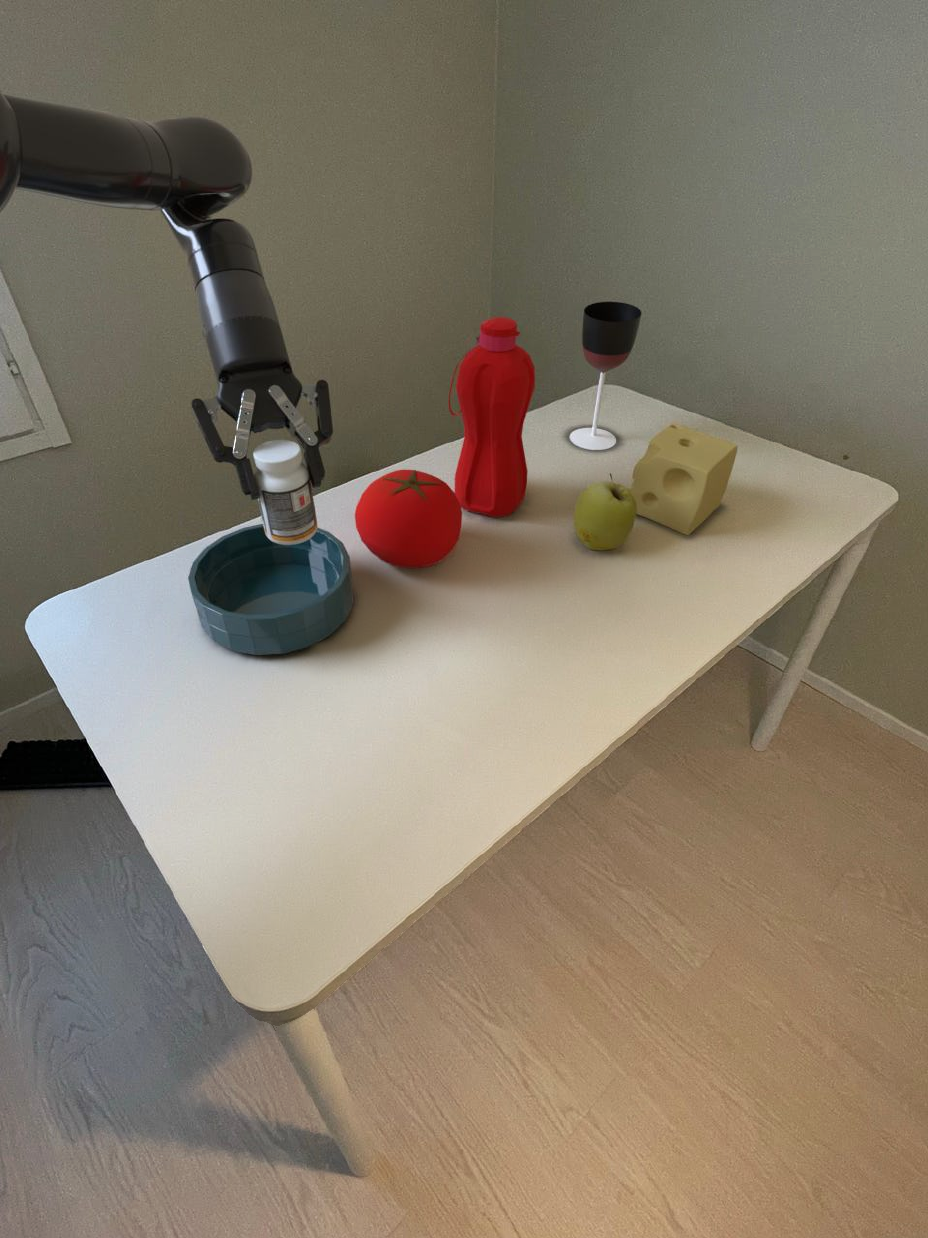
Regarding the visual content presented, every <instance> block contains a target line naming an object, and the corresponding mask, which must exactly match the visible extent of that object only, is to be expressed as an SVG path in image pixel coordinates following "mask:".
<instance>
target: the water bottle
mask: <svg viewBox="0 0 928 1238" xmlns="http://www.w3.org/2000/svg"><path fill="white" fill-rule="evenodd" d="M479 331H480V332H479V335H477V336H476V341H475V343H476V344H475V345H474V346H472V347H470V348H469V349H468V350H467V351H466V352H465V354H464V355H463V357H462V358H461V359H460V360H459V361H458V363H457V364H456V366H455V368H454V371H453V375H452V379H451V383H450V386H449V387H450V388H449V392H448V410H449V413H450V414H451V416H453V417H457V416H459V415H460V414H461V417H462V422H463V442H462V446H461V450H460V454H459V458H458V462H457V466H456V469H455V473H454V493H455V495H456V497H457V499H458V501H459V503H460V506H461V509H463V510H465V511H468V512H471V513H476V514H477V513H478V514H482V515H485V516H487V517H489V516H490V517H493V518H500V517H504V516H505V517H506V516H509V515H511V514H512V513H514V512H515V511H516V510H518V509H519V507H520V504H521V503H522V501H523V500H524V497H525V495H526V491H527V484H528V465H527V460H526V453H525V447H524V441H523V429H524V422H525V420H526V416H527V413H528V410H529V407H530V404H531V400H532V398H533V395H534V391H535V388H536V387H535V386H536V370H535V369H536V368H535V364H534V363H533V360H532V357H531V356H530V354H529V353H528V352H527V351H526V350H525V349H524V348H522V347H521V346H519V345H518V344H516V343H517V342H516V341H517V337H519V336H520V334H521V331H518V323H517V322H516V320H515V319H512V318H509V317H504V316H497V317H496V316H495V317H492V318H489V319H486V320H484V321H483V322H482V323H480V329H479ZM459 364H460V365H459ZM458 367H459V369H458ZM457 369H458V374H457V379H456V384H455V390H456V395H457V399H458V403H459V407H460V409H459V412H458V413H457V414H456V413H454V412H453V410H452V408H451V393H452V389H453V383H454V380H455V375H456V372H457Z"/></svg>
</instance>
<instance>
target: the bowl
mask: <svg viewBox="0 0 928 1238" xmlns="http://www.w3.org/2000/svg"><path fill="white" fill-rule="evenodd" d="M350 557H351V556H350V553H349V552H348V550H347V548H346V547H345V544H344V543H343V542H342V541H341V540H340V539H338V538H337V537H336V536H335V535H334V534H333V533H331V532H330V531H328V530H325V529H323V528H320V527H318V526H317V531H316V533H315V534H314V535H313V536H312V537H311V538H310V539H309V540H307V541H305V542H303V543H300V544H295V545H281V544H277V543H275V542H273V541H271V540H270V539H269V538H268V537H267V536H266V534H265V530H264V526H263V523H260V524H255V525H249V526H245V527H242V528H239V529H236V530H235V531H232V532H230V533H227V534H224V535H222V536H221V537H220V538H217V540H215V541H213V542H212V543H211V544H209V545H207V546H206V547H204V548H203V550H202V551H201V552H200V553H199V554H198V556H197V557H196V558H195V559H194V560H193V561H192V564H191V567H190V570H189V574H188V578H187V580H188V585H189V589H190V593H191V597H192V599H193V602H194V606H195V609H196V612H197V616H198V619H199V621H200V625H201V628H202V629H203V631H204V632H205V633H206V634H207V635H208V637H210V638H211V640H212V641H213V642H214V643H217V644H218V645H220V646H223V647H225V648H227V649H229V650H230V651H233V652H237V653H243V654H247V655H254V656H263V655H282V654H287V653H291V652H296V651H298V650H302V649H305V648H309V647H311V646H313V645H315V644H317V643H318V642H320V641H323V640H324V639H326V638H328V637H329V636H330V635H332V634H333V633H334V632H336V630H337V629H338V628H339V627H341V625H342V624H343V623H345V622H346V620H347V618H348V616H349V614H350V613H351V610H352V609H353V606H354V583H353V576H352V566H351V558H350Z"/></svg>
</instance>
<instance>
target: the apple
mask: <svg viewBox="0 0 928 1238" xmlns="http://www.w3.org/2000/svg"><path fill="white" fill-rule="evenodd" d="M609 476H610V479H611V481H598V482H595V483H591V484H590V485H588V486H587V487H586V488H585V489H584V490H583V491H582V492H581V494H579V497H578V499H577V501H576V503H575V506H574V511H573V512H574V513H573V527H574V531H575V534H576V536H577V538H578V539H579V541H580V542H581V543H582V544H583V545H584V547H586V548H587V549H589V550H592V551H607V550H615V549H617V548H619V547H620V546H621V545H622V544H623V543H624V542H625V541H626V540H627V538H628V537H629V535H630V533H631V532H632V530H633V527H634V524H635V520H636V516H637V514H636V503H635V500H634V497H633V495H632V493H631V492H630V491H629V490H628V489H629V488H627V487H626V486H625V485H622V484H620V483H616V482H613V477H612V476H613V475H612V473H609Z"/></svg>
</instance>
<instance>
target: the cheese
mask: <svg viewBox="0 0 928 1238" xmlns="http://www.w3.org/2000/svg"><path fill="white" fill-rule="evenodd" d="M738 447H739V445H738V444H737V443H735V442H732V441H730V440H726V439H723V438H720V437H717V436H713V435H710V434H707V433H704V432H700V431H697V430H695V429H692V428H690V427H687V426H685V425H681V424H678V423H676V422H672V423H670V424H669V425H668V426H666V427H665V428H663V429H662V430H661V431H659V432H658V433H657V434H656V435H654V436H653V437H652V438H651V439H650V440H649V441H648V445H647V449H646V451H645V454H644V455H643V456H642V457H641V458H640V459H639V460H638V461H637V462H636V463H635V464H634V468H633V471H632V477H631V478H632V479H633V483H632V484H631V486H630V487H629V488H627V489H628V490H629V491H630V492H631V493H632V495H633V497H634V500H635V503H636V515H638V516H641V517H644V518H646V519H648V520H651V521H654V522H656V523H658V524H661V525H663V526H665V527H667V528H670V529H672V530H673V531H676V532H678V533H681V534H683V535H686V536H689V535H690V534H692V532H693V531H695V530H696V529H697V528H698V527H699V526H700V525H701V524H703V522H704V521H705V520H706V519H707V518H708V517H709V516H710V515H711V514H712V513H713V512H714V511H715V510H716V509H717V508H719V507H720V505H721V503H722V500H723V498H724V495H725V493H726V490H727V487H728V484H729V481H730V477H731V474H732V471H733V468H734V465H735V461H736V457H737V453H738Z"/></svg>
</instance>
